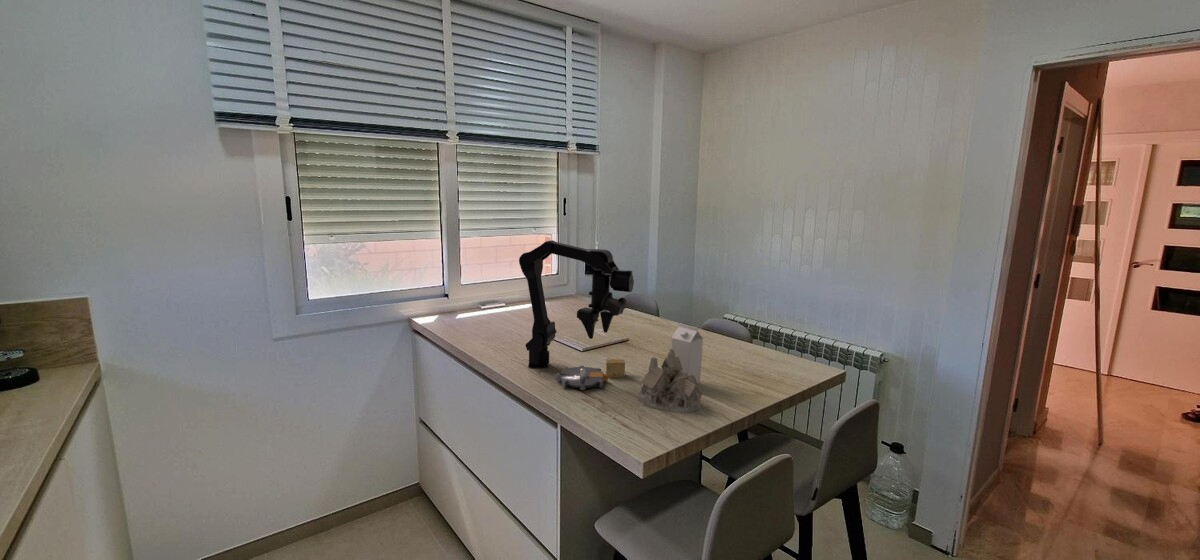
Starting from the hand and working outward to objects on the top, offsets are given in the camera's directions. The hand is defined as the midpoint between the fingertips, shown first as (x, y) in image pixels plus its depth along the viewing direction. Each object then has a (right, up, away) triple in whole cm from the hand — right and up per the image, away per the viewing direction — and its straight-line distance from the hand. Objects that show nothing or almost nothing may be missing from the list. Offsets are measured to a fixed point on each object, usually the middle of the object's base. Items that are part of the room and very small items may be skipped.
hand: (598, 335), depth 157 cm
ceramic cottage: (+20, -18, -19) cm, 33 cm away
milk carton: (+28, -15, -3) cm, 32 cm away
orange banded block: (+5, -13, +1) cm, 15 cm away
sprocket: (-5, -14, -5) cm, 16 cm away
